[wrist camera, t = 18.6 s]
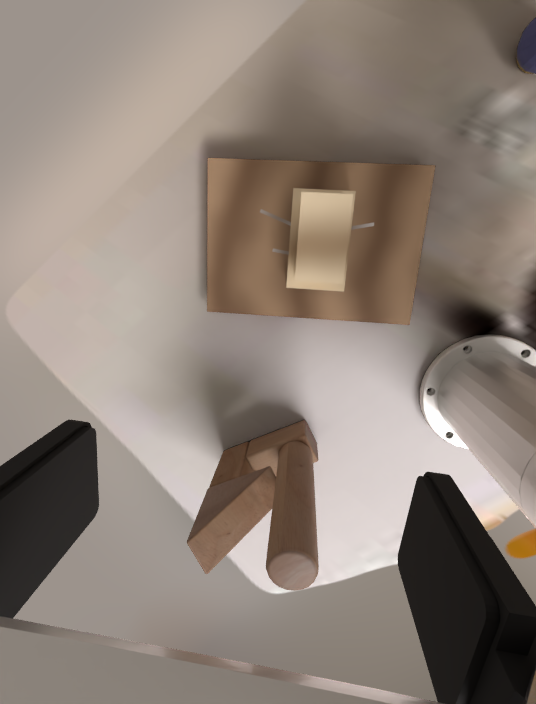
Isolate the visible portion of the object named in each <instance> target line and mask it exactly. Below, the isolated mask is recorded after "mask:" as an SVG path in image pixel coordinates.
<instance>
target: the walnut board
mask: <svg viewBox="0 0 536 704" xmlns="http://www.w3.org/2000/svg"><path fill="white" fill-rule="evenodd" d="M434 171H435V165H408V164H378V163H347V162H316V161H286V160H255V159H224V158H208V218H207V311H208V312H223V313H238V314H254V315H269V316H284V317H299V318H314V319H329V320H344V321H359V322H374V323H389V324H405V325H409V324H410V318H411V312H412V306H413V300H414V294H415V288H416V282H417V275H418V269H419V263H420V257H421V251H422V245H423V239H424V232H425V226H426V220H427V214H428V208H429V202H430V196H431V190H432V183H433V177H434ZM293 188H301V189H322V190H344V191H356V194H355V202H354V211H353V219H352V228H351V237H350V245H349V254H348V262H347V271H346V280H345V288H344V292H342V291H327V290H312V289H297V288H286V285H287V271H288V257H289V243H290V229H291V215H292V201H293Z"/></svg>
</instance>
